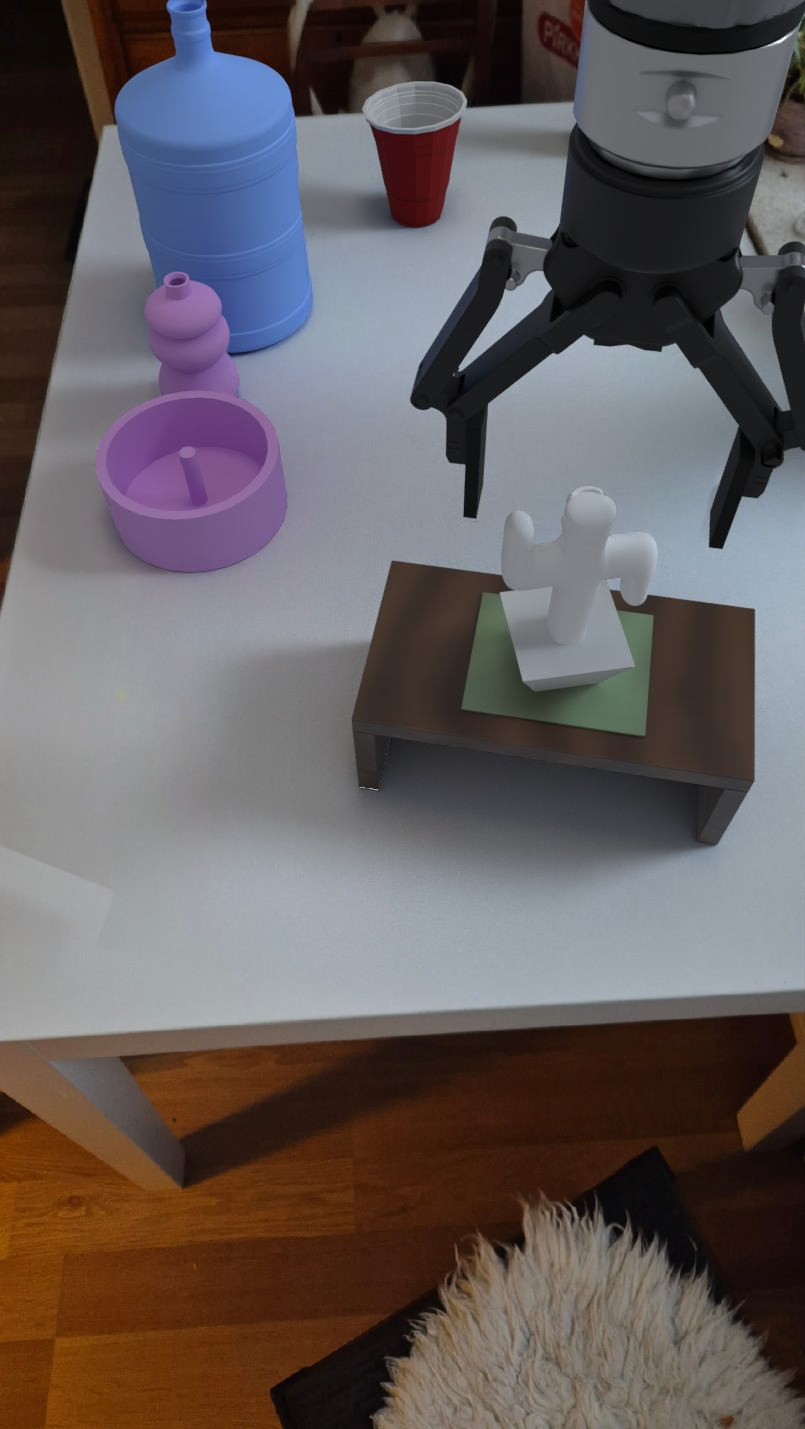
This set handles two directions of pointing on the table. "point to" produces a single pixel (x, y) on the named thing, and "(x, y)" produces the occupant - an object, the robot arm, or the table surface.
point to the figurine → (573, 592)
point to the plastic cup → (415, 146)
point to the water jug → (219, 180)
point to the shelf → (563, 689)
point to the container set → (192, 447)
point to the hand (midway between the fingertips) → (592, 515)
